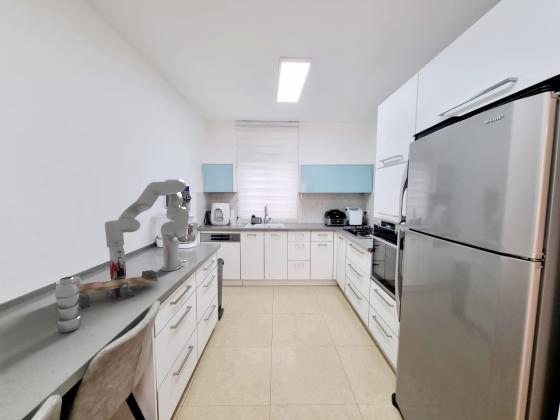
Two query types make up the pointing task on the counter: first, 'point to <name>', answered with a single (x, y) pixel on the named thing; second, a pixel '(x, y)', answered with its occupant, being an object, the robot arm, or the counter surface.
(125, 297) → the beam stand
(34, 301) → the counter surface
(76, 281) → the cup
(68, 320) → the plastic bottle
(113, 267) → the soda can
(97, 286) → the beam
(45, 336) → the counter surface
